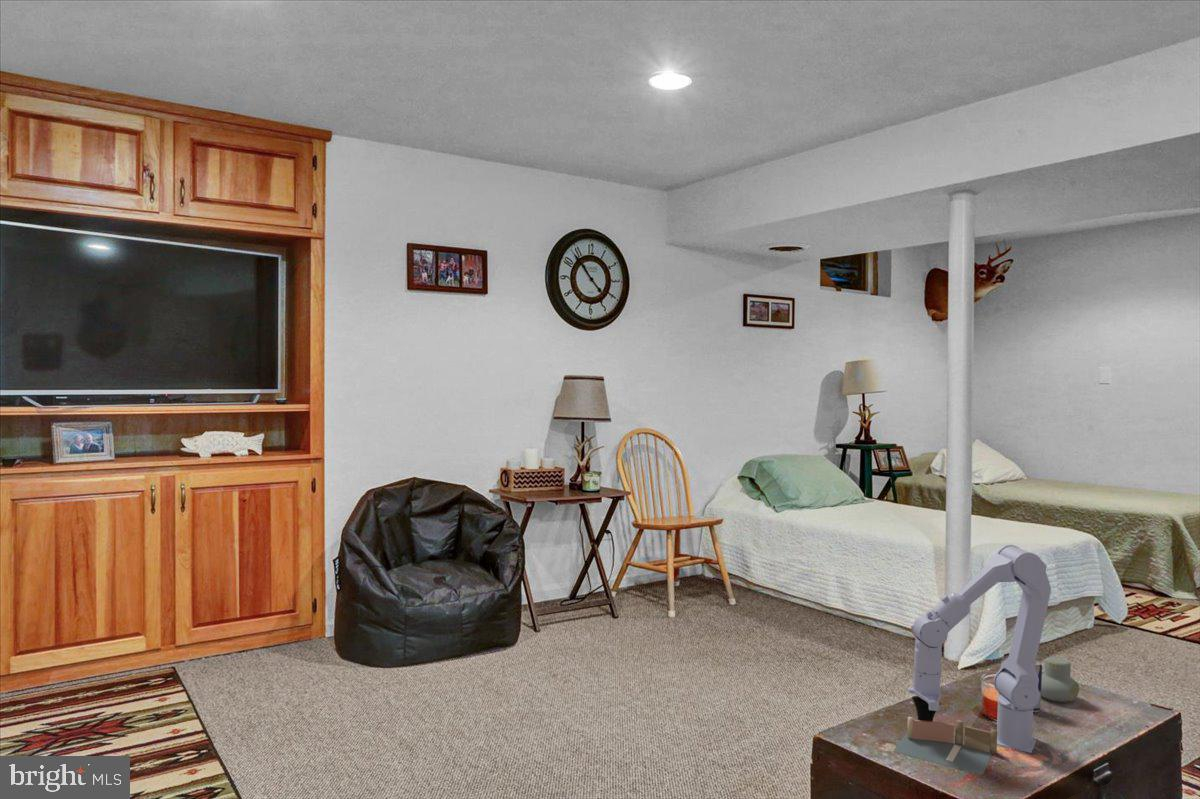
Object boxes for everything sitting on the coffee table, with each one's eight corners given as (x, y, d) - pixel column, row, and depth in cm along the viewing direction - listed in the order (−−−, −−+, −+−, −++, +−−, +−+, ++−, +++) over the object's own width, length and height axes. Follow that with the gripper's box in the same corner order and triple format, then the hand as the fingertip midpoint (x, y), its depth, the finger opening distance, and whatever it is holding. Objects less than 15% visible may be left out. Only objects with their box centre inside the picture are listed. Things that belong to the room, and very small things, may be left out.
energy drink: (1044, 711, 210) (1046, 663, 210) (1032, 715, 207) (1034, 666, 207) (1024, 703, 215) (1026, 656, 214) (1011, 707, 212) (1013, 660, 212)
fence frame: (955, 741, 189) (956, 719, 189) (997, 752, 185) (997, 729, 185) (954, 744, 188) (955, 721, 188) (995, 754, 183) (996, 731, 183)
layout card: (909, 730, 196) (909, 728, 196) (994, 751, 186) (994, 749, 186) (892, 753, 184) (892, 751, 184) (982, 776, 174) (982, 774, 174)
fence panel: (952, 741, 189) (953, 721, 189) (953, 743, 188) (954, 723, 188) (906, 735, 191) (907, 716, 191) (907, 738, 190) (908, 718, 190)
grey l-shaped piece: (1065, 708, 212) (1067, 669, 212) (1030, 698, 219) (1032, 660, 218) (1081, 698, 220) (1082, 660, 219) (1047, 689, 226) (1049, 652, 226)
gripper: (901, 658, 198) (899, 716, 198) (916, 680, 184) (913, 742, 184) (933, 661, 197) (930, 718, 198) (950, 683, 183) (947, 745, 183)
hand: (924, 730), depth 191 cm, fingers closed, pressing on fence panel
